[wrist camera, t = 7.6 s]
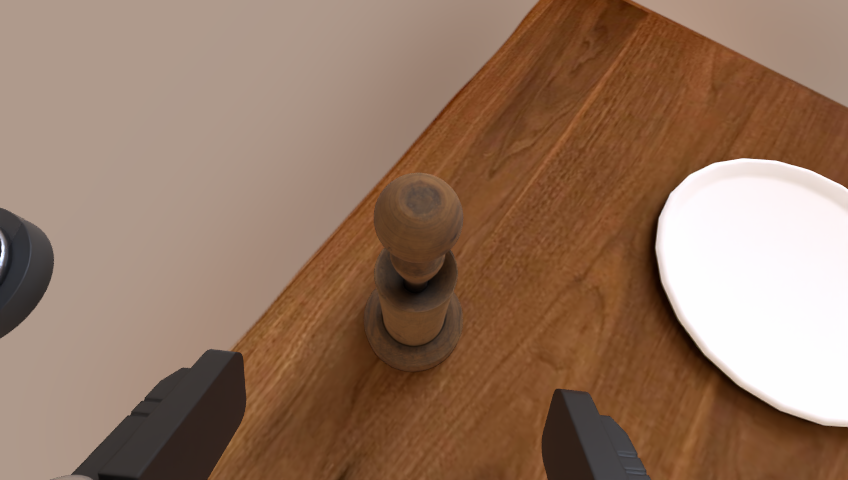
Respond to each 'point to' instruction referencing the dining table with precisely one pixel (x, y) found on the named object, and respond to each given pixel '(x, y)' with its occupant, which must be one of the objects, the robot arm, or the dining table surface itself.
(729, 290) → the plate
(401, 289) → the mortar and pestle
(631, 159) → the dining table surface
